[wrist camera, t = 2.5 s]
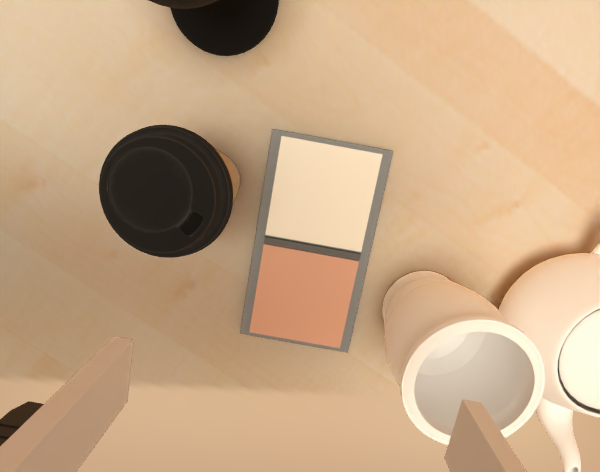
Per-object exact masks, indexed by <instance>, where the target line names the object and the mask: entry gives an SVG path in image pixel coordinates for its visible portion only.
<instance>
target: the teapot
mask: <svg viewBox="0 0 600 472" xmlns="http://www.w3.org/2000/svg"><path fill="white" fill-rule="evenodd" d="M498 310H499V311H500V312H501V313H502V314H503V316H504V317H505V318H506V319H507V321H508V322H509V323H511V324H512V325H514V326H516V327H517V328H519V329H520V330H521V331H523V332H524V333H525V334H526V335H527V336H528V337H529V338H530V340H531V341H532V342H533V343H534V345H535V346H536V348H537V349H538V351H539V353H540V355H541V357H542V360H543V364H544V369H545V386H544V391H543V394H542V397H541V400H540V402H539V404H538V406H537V408H536V413H537V416H538V418H539V421H540V422H541V424H542V426H543V427H544V429H545V430H546V432H547V433H548V435H549V436H550V438H551V439H552V441H553V443H554V445H555V446H556V448H557V450H558V452H559V455H560V458H561V460H562V464H563V472H581V461H580V454H579V450H578V447H577V443H576V440H575V437H574V432H573V427H572V416H573V410H574V411H577V412H581V413H584V414H587V415H590V416H594V417H600V243H599V244H598V245H597V246H596V247H595V248H594V249H593V251H592V252H591V253H590V254H589V253H576V254H566V255H562V256H558V257H554V258H551V259H548V260H546V261H544V262H542V263H539V264H537V265H535V266H534V267H532V268H531V269H529V270H528V271H527V272H525V273H524V274H523V275H522V276H521V277H520V278H519V279H518V280H517V281H515V282H514V283H513V285H512V286H511V287H510V289H509V290H508V292H507V293H506V295H505V296H504V298H503V300H502V303H501V305H500V307H499V309H498ZM582 319H583V320H582ZM581 320H582V321H581ZM580 321H581V322H580ZM579 322H580V323H579ZM578 323H579V324H578ZM577 324H578V325H577ZM576 325H577V326H576ZM575 326H576V327H575ZM574 327H575V328H574ZM573 328H574V329H573ZM572 329H573V330H572ZM571 331H572V332H571ZM570 332H571V333H570ZM569 333H570V334H569Z"/></svg>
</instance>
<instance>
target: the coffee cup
mask: <svg viewBox="0 0 600 472" xmlns="http://www.w3.org/2000/svg"><path fill="white" fill-rule="evenodd" d="M239 186H240V174H239V170H238V168H237V166H236V165H235V164H234V162H233V161H232V160H231V159H230V158H229V157H227V156H226V155H224V154H222V153H221V152H219V151H218V150H216V149H215V148H214V147H213V146H212V145H211V144H210V143H208V142H207V141H206V140H205V139H203V138H202V137H201V136H199V135H197V134H196V133H194V132H192V131H189V130H187V129H184V128H181V127H177V126H171V125H155V126H149V127H145V128H142V129H140V130H137V131H135V132H133V133H131V134H129V135H127V136H126V137H124V138H123V139H122V140H120V141H119V142H118V143H117V144H116V145H115V146H114V147H113V148H112V150H111V151H110V153H109V154H108V156H107V158H106V159H105V162H104V164H103V167H102V170H101V174H100V181H99V194H100V200H101V205H102V208H103V211H104V213H105V216H106V218H107V220H108V221H109V223H110V225H111V226H112V228H113V229H114V230H115V232H116V233H117V234H118V235H119V236H120V237H121V238H122V239H123V240H124V241H126V242H127V243H128V244H129V245H131V246H132V247H134V248H136V249H138V250H140V251H142V252H144V253H147V254H150V255H153V256H158V257H180V256H185V255H189V254H192V253H195V252H198V251H200V250H202V249H203V248H205V247H207V246H208V245H209V244H211V243H212V242H213V241H214V240H215V239H216V238H217V237H218V236H219V235H220V234H221V232H222V231H223V229H224V228H225V226H226V224H227V222H228V220H229V217H230V214H231V210H232V205H233V202H234V200H235V198H236V196H237V192H238V189H239Z"/></svg>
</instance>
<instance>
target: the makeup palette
mask: <svg viewBox="0 0 600 472" xmlns="http://www.w3.org/2000/svg"><path fill="white" fill-rule="evenodd" d="M392 155H393V151H391V150H385V149H380V148H374V147H369V146H363V145H358V144H353V143H347V142H342V141H336V140H331V139H325V138H320V137H315V136H309V135H304V134H298V133H293V132H287V131H282V130H277V129H272V135H271V141H270V148H269V154H268V160H267V167H266V173H265V179H264V185H263V192H262V198H261V204H260V211H259V217H258V223H257V230H256V236H255V242H254V248H253V255H252V261H251V267H250V274H249V280H248V286H247V293H246V299H245V305H244V311H243V318H242V324H241V330H240V334H246V335H251V336H257V337H263V338H268V339H274V340H279V341H285V342H291V343H296V344H302V345H307V346H313V347H319V348H324V349H330V350H336V351H341V352H347V353H348V350H349V345H350V341H351V336H352V332H353V327H354V323H355V319H356V314H357V310H358V305H359V301H360V296H361V292H362V288H363V283H364V279H365V274H366V270H367V265H368V261H369V257H370V252H371V248H372V243H373V239H374V234H375V230H376V226H377V221H378V217H379V212H380V208H381V203H382V199H383V194H384V190H385V186H386V181H387V177H388V172H389V168H390V163H391V159H392Z"/></svg>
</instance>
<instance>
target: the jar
mask: <svg viewBox="0 0 600 472" xmlns="http://www.w3.org/2000/svg"><path fill="white" fill-rule="evenodd" d="M382 315H383V320H384V332H385V348H386V354H387V359H388V362H389V365H390V368H391V371H392V373H393V375H394V378H395V380H396V381H397V383H398V385H399V387H400V390H401V396H402V400H403V404H404V407H405V410H406V412H407V414H408V416H409V418H410V419H411V421H412V422H413V423H414V425H415V426H416V427H417V428H418V429H419V430H420V431H421V432H422V433H424V434H425V435H426V436H428V437H430V438H431V439H433V440H435V441H438V442H440V443H443V444H446V445H448V444H449V441H450V438H451V434H452V431H453V428H454V425H455V421H456V418H457V415H458V412H459V408H460V405H461V402H462V399H465V400H470V401H476V402H481V403H482V404H483V406H484V407H485V409H486V410H487V412H488V413H489V415H490V416H491V418H492V419H493V421H494V422H495V424H496V425H497V427H498V428H499V430H500V431H501V433H502V435H503V436H504V438H505V437H507V436H509V435H510V434H512V433H513V432H515V431H516V430H518V429H519V428H520V427H521V426H522V425H523V424H524V423H525V422H526V421H527V420H528V419H529V418H530V417H531V416H532V414H533V413H534V411H535V410H536V408H537V406H538V404H539V402H540V400H541V397H542V394H543V391H544V386H545V369H544V364H543V360H542V357H541V355H540V353H539V351H538V349H537V348H536V346H535V345H534V343H533V342H532V341H531V340H530V338H529V337H528V336H527V335H526V334H525V333H524V332H523V331H521V330H520V329H519V328H517V327H516V326H514V325H512V324H511V323H509V322H508V321H507V319H506V318H505V317H504V316H503V314H502V313H501V312H500V311H499V310H498V309H497V308H496V307H495V306H494V305H493V304H492V303H490V302H489V301H488V300H487V299H485V298H484V297H482V296H481V295H479V294H478V293H476V292H474V291H472V290H470V289H468V288H466V287H463V286H461V285H459V284H457V283H455V282H453V281H450V280H449V279H448V278H446V277H445V276H443V275H441V274H439V273H436V272H432V271H417V272H412V273H409V274H407V275H405V276H403V277H401V278H400V279H398V280H397V281H396V282H395V283H394V284H393V285H392V286H391V287H390V288H389V290H388V291H387V293H386V295H385V298H384V301H383V306H382Z"/></svg>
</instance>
